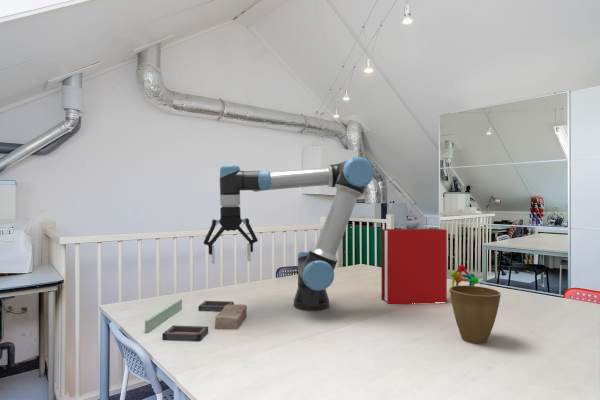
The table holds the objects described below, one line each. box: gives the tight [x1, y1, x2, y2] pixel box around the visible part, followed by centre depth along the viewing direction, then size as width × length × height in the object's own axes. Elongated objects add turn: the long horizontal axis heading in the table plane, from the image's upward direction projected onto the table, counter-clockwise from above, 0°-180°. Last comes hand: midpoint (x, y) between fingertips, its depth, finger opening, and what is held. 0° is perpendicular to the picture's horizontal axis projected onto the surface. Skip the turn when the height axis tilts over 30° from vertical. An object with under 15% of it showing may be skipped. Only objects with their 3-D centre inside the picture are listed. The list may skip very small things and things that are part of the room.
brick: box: [214, 303, 248, 331], centre depth 140 cm, size 17×8×5 cm, turn 177°
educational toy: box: [448, 264, 479, 293], centre depth 178 cm, size 16×13×15 cm
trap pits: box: [161, 300, 235, 342], centre depth 141 cm, size 12×40×2 cm, turn 175°
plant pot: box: [449, 285, 502, 344], centre depth 122 cm, size 15×15×16 cm
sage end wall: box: [144, 298, 183, 333], centre depth 142 cm, size 1×28×4 cm, turn 175°
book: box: [381, 228, 448, 305], centre depth 168 cm, size 27×8×32 cm, turn 96°
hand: (231, 262), depth 144 cm, fingers open, 13 cm apart
